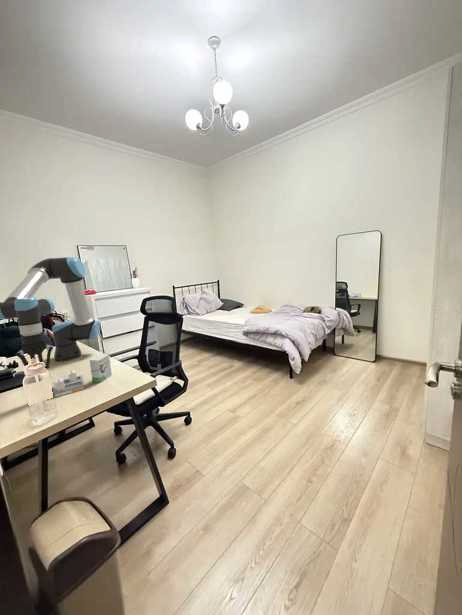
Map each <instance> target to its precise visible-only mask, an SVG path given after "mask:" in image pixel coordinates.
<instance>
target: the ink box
mask: <svg viewBox="0 0 462 615" xmlns="http://www.w3.org/2000/svg"><path fill="white" fill-rule="evenodd" d="M89 366H90V373H91V381H92V383H102V382H104V381H106V379H108V378H110V377H111V376H112V375H113V374H112V367H111V360H110V354H105V353H100V354H98V355H96V356H95V357H92V358H90V360H89Z"/></svg>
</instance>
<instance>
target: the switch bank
mask: <svg viewBox="0 0 462 615" xmlns="http://www.w3.org/2000/svg"><path fill="white" fill-rule="evenodd" d="M76 377H77V381H73V382H70V380H69V378H66V379H63V380H64V385H65V389H64V390H60V391H57V389H56V384H55V382H54V381H53V390H52V391H53V392H52V393H53V398H54V397H55V398H57V397H58V398H59V397H61V396H65V395H67V394H72V393H75V392H79V391H83V390H85V389H86V386H85V381H84V378H83V375H78V376H77V375H76Z"/></svg>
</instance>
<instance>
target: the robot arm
mask: <svg viewBox="0 0 462 615" xmlns="http://www.w3.org/2000/svg"><path fill="white" fill-rule="evenodd" d="M85 276H86V268H85V265H84V263H83V262H82V260H81V259H80V258H78V257H76V256H75V257H70V256H67V257H65V256H64V257H51V258H46V259H42V260H41V261H38V262H37V263H36V264H34V265H32V267H30V268H29V270H28V271H27V275H26V276H25V277H24V278H23V279H22V281H20V282H19V284H18V286H16V288H15V289H13V291H12V292H11V293H10V294H9V295H8V296H7V297H6V299H5V300H4V301H3V302H1V301H0V320H11V319H17V323H18V329H19V335H21V336H20V339H21V344H22V347H21V349H20V350H19V351H17V352H16V354H15V356H17V357H18V358H19V359H20V361H21V362H22V365H23V367H25V366H26V365H28V364H29V365H30V363H29V362H28V360H27V358H26V356H25V354H26V355H28V356H29V358H30V360H31V359H32V358H34V359H35V360H36V355H37V358H38V362H43V363H44V359H43V352H44V351H45V349H46V351H47V353H46V360H45V365H44V366H45V368H46V370H49V368H50V361H51V354H52V351H53V350H54V349H55V350H54V354H53V359H54V361H55V362H66V361H70V360H74V359H76V358H79V357H81V355H82V350H81V348H80V347H79V345H78V344H77V341H78V342H79V341H86V340H95V339H97V338H98V337H99V335H100V330H101V328H100V327H101V326H100V324H101V323H100V322H99V321H98V320H95V317H94V316H92V315H91V312H90V308H89V304H88V301H87V297H86V294H85V290H84V286H83V280H84V277H85ZM53 279H54V280H55V279H59V280H60V282H61V284H62V285H63V284H64V286H65V290H66V292H67V296H68V299H69V302H70V305H71V308H72V311H73V315H74V319H75V320H74V321H73V320H67V321H64V322H63V321H62V322H58V323H56V324H54V325H53V326H52V327H51V330H52V336H53V340H54V345H55V348H54V345H49V344H47V342H46V341H45V335H44V332H43V330H44V329H43V325H42V321H41V317H44V316H48V315H50V314H51V313H53V312H54V310H55V304H54V302H53V300H50V299H49V298H39V299H38V298H37V297H34V295H35V294H36V293H37V292H38V290H39V289H40V288H41V287H42V285H43V284H45V283H47V282H48V281H49V280H53ZM53 348H54V349H53Z"/></svg>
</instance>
